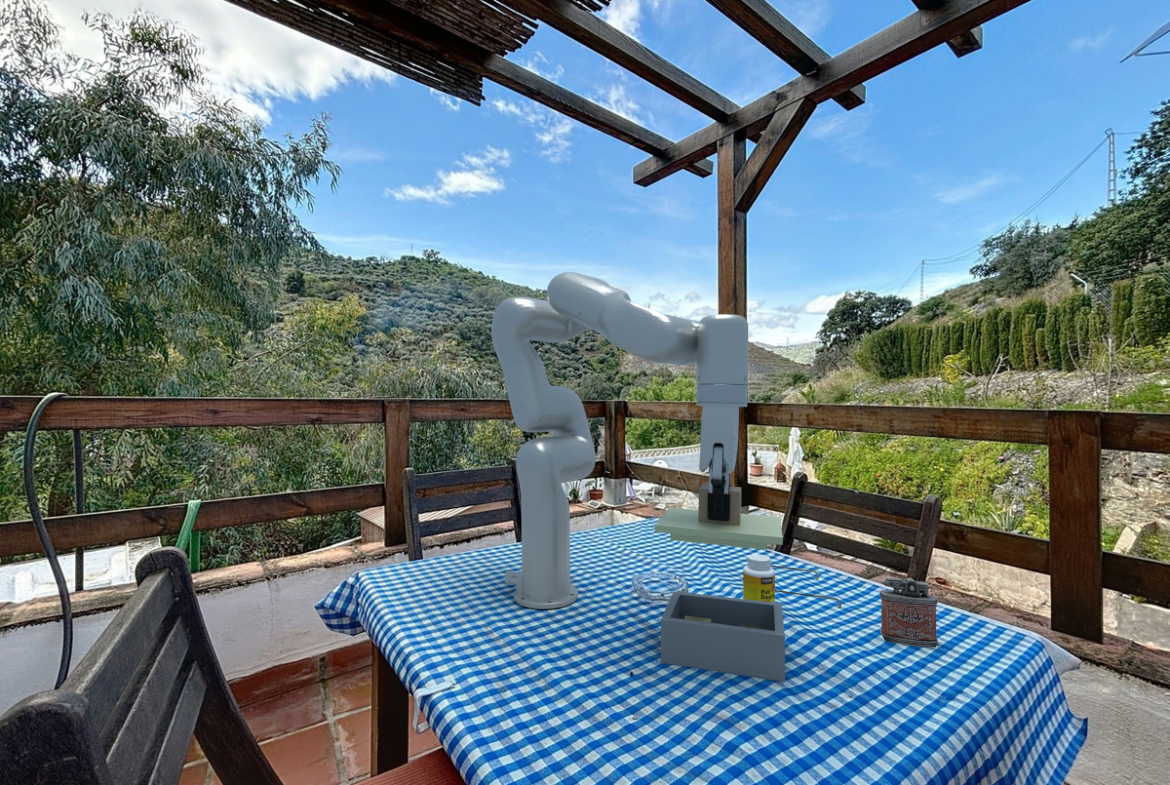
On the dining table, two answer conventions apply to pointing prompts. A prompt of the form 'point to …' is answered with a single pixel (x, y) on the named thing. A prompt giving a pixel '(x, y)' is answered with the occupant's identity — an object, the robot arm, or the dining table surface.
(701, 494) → the lid
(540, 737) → the dining table surface
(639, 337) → the robot arm
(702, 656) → the tub
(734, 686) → the dining table surface
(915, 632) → the lighter
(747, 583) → the supplement bottle
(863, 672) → the dining table surface
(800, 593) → the eyeglasses
